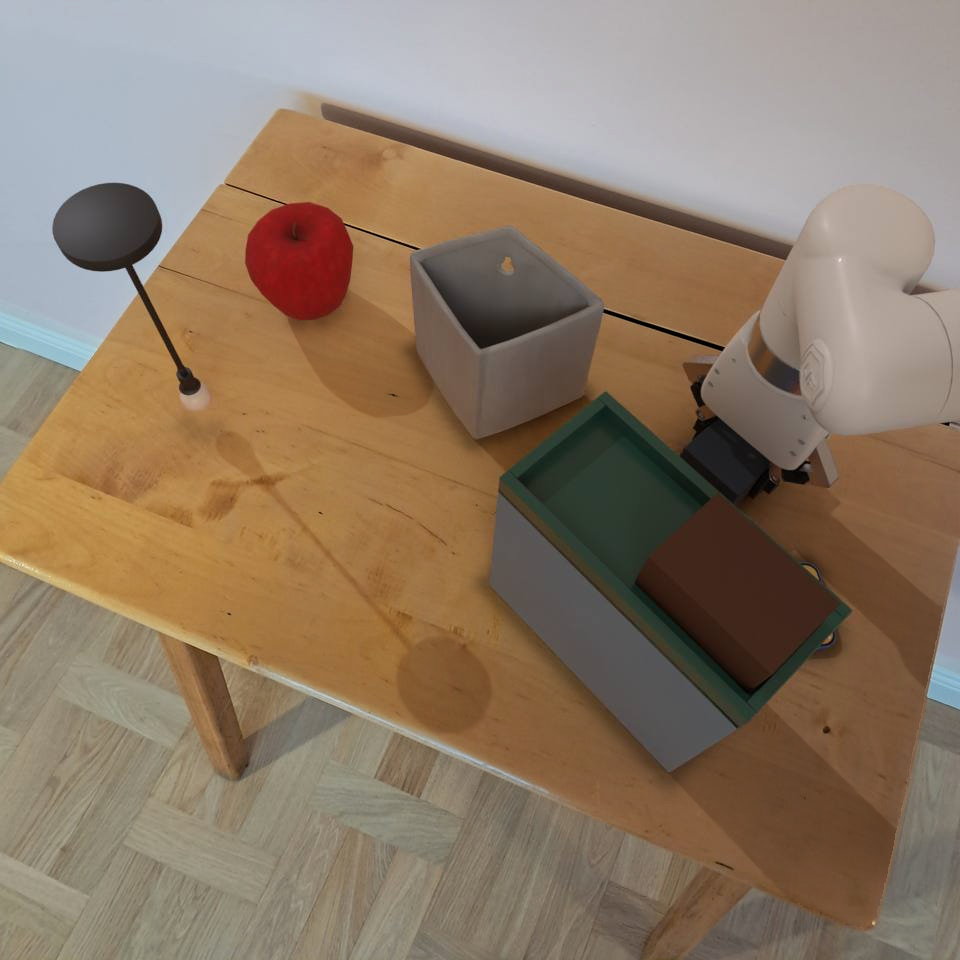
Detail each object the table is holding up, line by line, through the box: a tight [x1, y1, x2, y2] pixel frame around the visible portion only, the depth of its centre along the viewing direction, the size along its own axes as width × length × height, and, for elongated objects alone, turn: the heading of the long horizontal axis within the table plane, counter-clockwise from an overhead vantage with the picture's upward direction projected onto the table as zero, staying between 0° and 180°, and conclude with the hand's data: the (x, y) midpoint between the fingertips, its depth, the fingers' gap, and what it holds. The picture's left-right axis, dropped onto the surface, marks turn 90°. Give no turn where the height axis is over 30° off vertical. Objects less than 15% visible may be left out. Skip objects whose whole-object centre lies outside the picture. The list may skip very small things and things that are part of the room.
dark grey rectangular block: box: [679, 417, 769, 507], centre depth 76 cm, size 6×9×4 cm, turn 132°
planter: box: [409, 225, 605, 440], centre depth 71 cm, size 16×8×19 cm, turn 73°
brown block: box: [635, 493, 840, 693], centre depth 50 cm, size 6×9×4 cm, turn 42°
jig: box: [497, 390, 853, 730], centre depth 53 cm, size 20×10×2 cm, turn 42°
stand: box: [488, 491, 738, 774], centre depth 62 cm, size 20×10×18 cm, turn 42°
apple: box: [244, 201, 354, 321], centre depth 80 cm, size 10×10×11 cm
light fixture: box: [51, 182, 213, 413], centre depth 67 cm, size 7×7×25 cm
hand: (732, 461), depth 77 cm, fingers closed on dark grey rectangular block, 6 cm apart
